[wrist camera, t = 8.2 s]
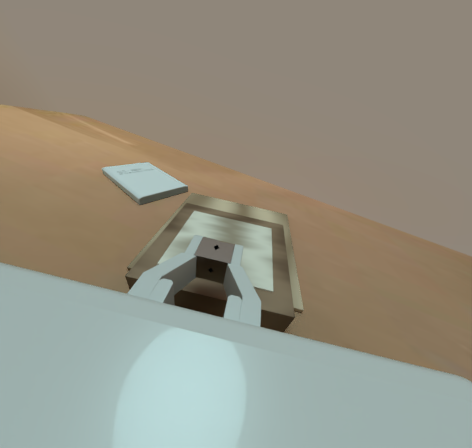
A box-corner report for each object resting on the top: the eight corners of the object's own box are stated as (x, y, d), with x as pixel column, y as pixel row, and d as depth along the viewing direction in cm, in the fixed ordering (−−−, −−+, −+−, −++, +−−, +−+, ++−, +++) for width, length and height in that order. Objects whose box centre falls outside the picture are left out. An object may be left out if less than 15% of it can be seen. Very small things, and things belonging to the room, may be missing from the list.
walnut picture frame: (124, 274, 12) (186, 201, 21) (131, 295, 13) (186, 219, 22) (295, 316, 11) (283, 224, 20) (282, 332, 13) (276, 240, 22)
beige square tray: (127, 270, 15) (127, 267, 15) (192, 195, 28) (192, 192, 28) (301, 312, 15) (303, 310, 15) (286, 216, 28) (286, 214, 28)
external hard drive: (140, 208, 24) (103, 176, 29) (188, 193, 30) (150, 169, 35) (138, 197, 23) (100, 166, 28) (188, 185, 29) (149, 161, 34)
